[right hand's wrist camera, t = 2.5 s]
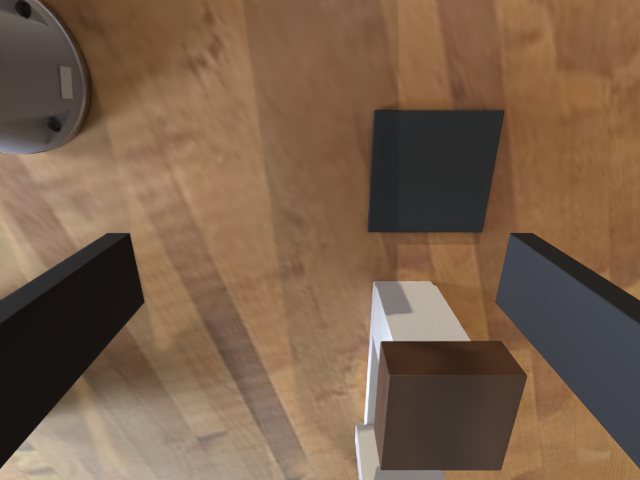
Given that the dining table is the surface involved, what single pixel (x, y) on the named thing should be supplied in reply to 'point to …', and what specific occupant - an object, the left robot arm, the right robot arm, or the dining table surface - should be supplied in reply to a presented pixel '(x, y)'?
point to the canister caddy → (400, 325)
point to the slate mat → (432, 170)
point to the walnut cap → (445, 404)
